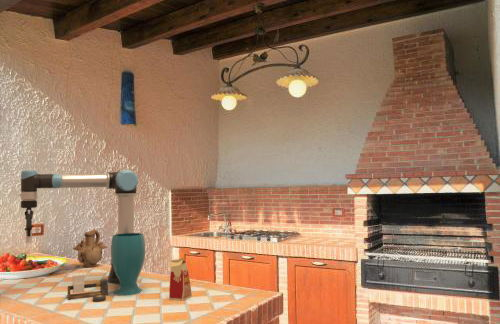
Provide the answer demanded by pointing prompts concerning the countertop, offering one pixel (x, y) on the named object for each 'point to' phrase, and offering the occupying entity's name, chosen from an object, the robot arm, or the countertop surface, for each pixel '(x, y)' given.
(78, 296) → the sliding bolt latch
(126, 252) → the vase
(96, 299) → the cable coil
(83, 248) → the ceramic vessel
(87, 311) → the countertop surface
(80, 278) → the sleeve
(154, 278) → the countertop surface
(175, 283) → the milk carton
